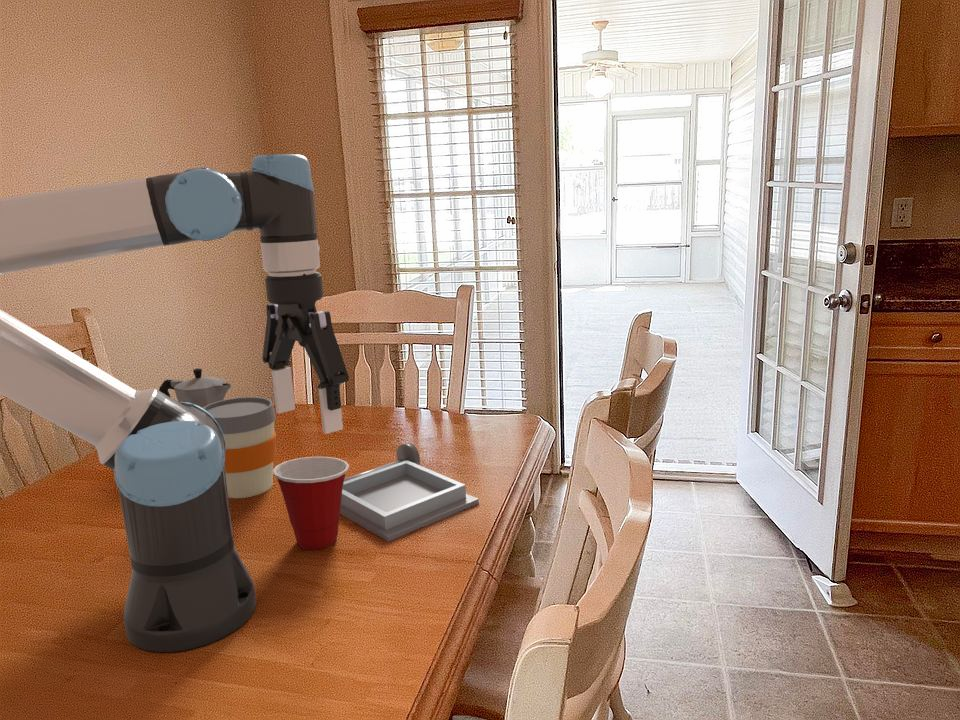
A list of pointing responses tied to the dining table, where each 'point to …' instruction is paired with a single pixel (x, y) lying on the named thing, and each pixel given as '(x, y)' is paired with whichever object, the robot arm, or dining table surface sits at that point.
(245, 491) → the reusable coffee cup
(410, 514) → the tray
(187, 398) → the coffeepot
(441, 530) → the dining table surface
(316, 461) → the plastic cup
